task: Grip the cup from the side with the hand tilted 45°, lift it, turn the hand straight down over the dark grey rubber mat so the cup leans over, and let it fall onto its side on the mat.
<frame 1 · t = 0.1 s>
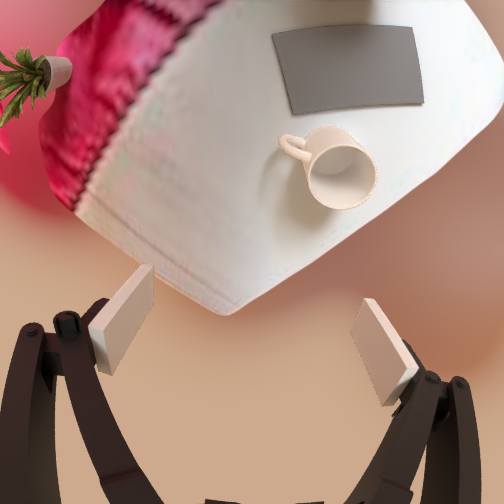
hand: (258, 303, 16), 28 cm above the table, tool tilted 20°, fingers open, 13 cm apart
house plant: (59, 66, 28), on the table
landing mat: (355, 65, 28), on the table
cup: (316, 145, 37), on the table
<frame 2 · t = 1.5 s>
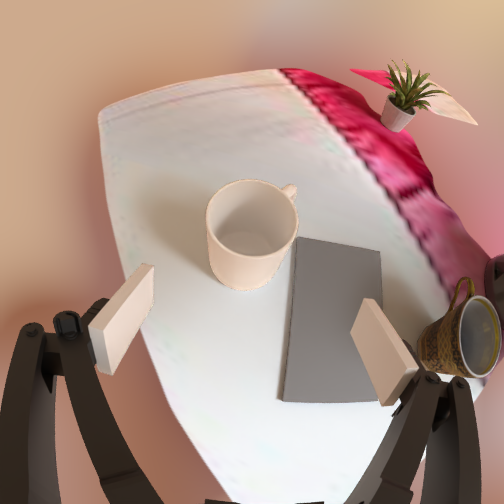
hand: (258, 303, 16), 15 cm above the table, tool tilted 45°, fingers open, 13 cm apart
house plant: (394, 125, 50), on the table
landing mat: (338, 320, 31), on the table
ceramic cup: (430, 338, 31), on the table
cup: (253, 250, 34), on the table
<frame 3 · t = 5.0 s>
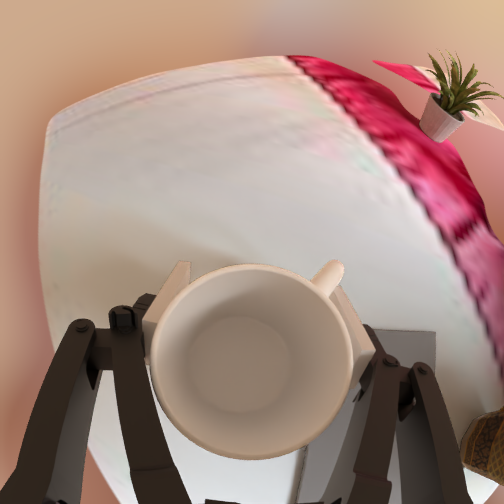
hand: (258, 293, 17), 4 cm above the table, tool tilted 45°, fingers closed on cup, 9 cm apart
house plant: (435, 133, 36), on the table
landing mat: (373, 442, 17), on the table
ceramic cup: (476, 429, 17), on the table
cup: (256, 348, 20), on the table, touching gripper
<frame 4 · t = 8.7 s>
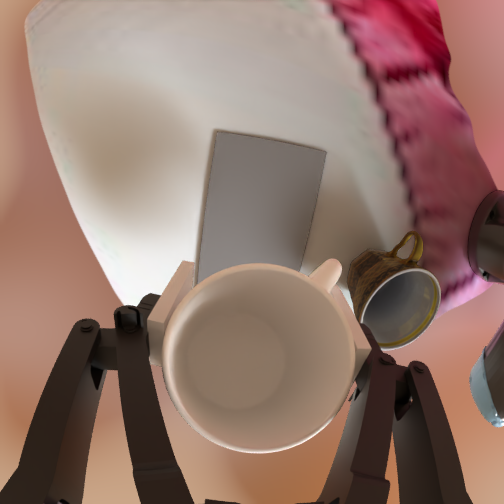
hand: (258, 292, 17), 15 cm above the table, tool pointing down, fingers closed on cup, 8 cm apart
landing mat: (256, 226, 32), on the table
ceramic cup: (372, 261, 33), on the table
cup: (252, 344, 20), point 14 cm above the table, touching gripper
when the fingers open (6 cm above the table, at t = 10.9 s): cup moves 2 cm, resting on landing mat.
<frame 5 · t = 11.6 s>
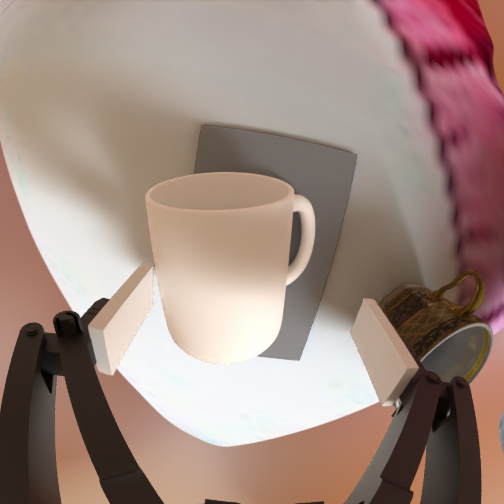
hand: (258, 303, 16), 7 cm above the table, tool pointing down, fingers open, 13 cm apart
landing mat: (258, 258, 23), on the table
ceramic cup: (405, 297, 24), on the table
cup: (246, 317, 21), point 4 cm above the table, touching gripper, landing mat
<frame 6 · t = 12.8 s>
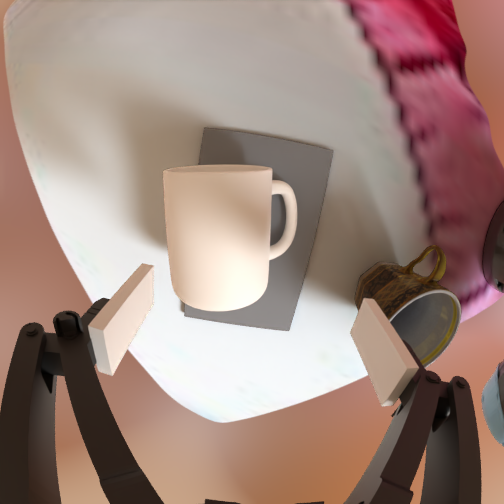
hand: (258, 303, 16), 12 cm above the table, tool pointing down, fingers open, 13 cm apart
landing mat: (251, 238, 27), on the table
ceramic cup: (382, 275, 29), on the table
cup: (239, 284, 25), point 4 cm above the table, touching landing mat
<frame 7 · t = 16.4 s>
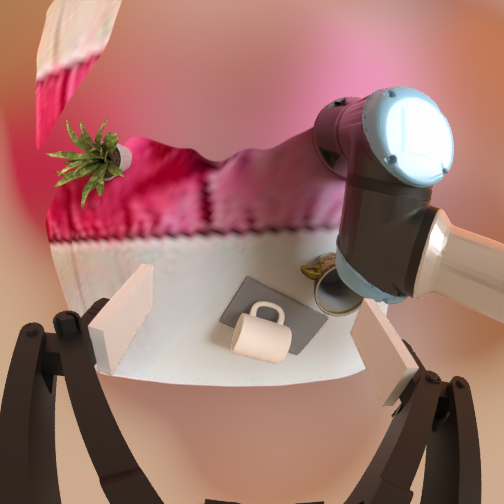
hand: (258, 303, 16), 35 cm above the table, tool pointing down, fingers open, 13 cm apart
house plant: (122, 151, 46), on the table
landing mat: (274, 319, 57), on the table
ceramic cup: (323, 264, 53), on the table
cup: (287, 337, 55), point 4 cm above the table, touching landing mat
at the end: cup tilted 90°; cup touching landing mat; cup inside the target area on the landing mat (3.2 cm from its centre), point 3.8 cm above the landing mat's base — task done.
